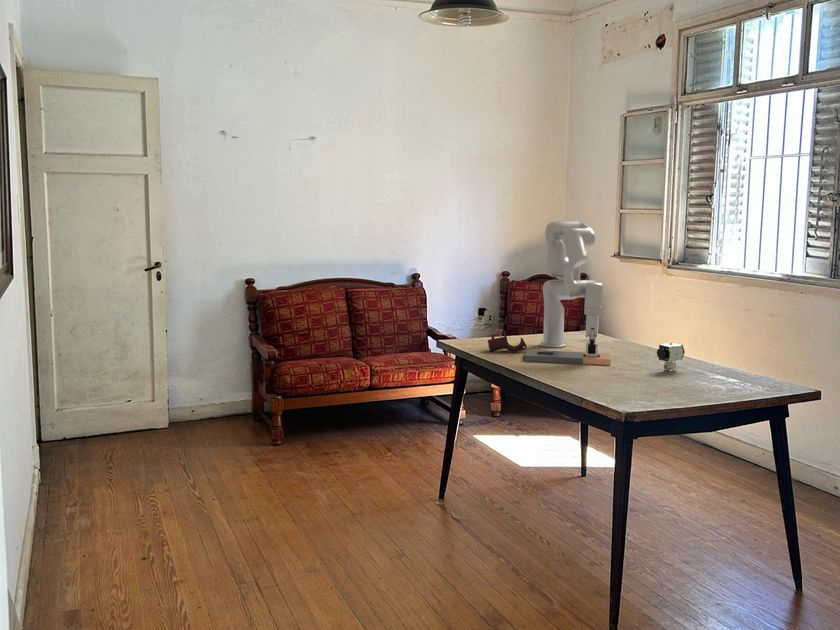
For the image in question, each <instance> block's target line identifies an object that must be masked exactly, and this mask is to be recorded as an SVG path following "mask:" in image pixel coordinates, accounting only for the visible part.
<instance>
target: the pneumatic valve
mask: <svg viewBox="0 0 840 630" xmlns="http://www.w3.org/2000/svg"><path fill="white" fill-rule="evenodd" d="M684 355H685V348H684V345H683V344H681V343H678V342H677V343H676V342H672V341H670V342H669V343H662V344H659V346H658V349H656V356H657V358H658V359H657V360H659V361H663V362H664V363H663V370H664V369H665V370H673V369H677V363H676V361H681V360H683V358H684V357H685V356H684ZM665 370H664V371H665Z"/></svg>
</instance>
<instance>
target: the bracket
mask: <svg viewBox="0 0 840 630" xmlns="http://www.w3.org/2000/svg"><path fill="white" fill-rule="evenodd" d="M490 336H491V339H487V344H488V350H489V352H490V351H491V352H495V351H501V350H507V351H508V352H510V353H517V352H523V351H527V350H528V349H527V348H528V346H527V344H526V342H525V340H524V338H522V337H520V342H519V344H517V345H510V343H509V341H508V337H507V332H506V330H505V329H504V330H503V336H501V337H500V336H499V337H495V335H494V334H491V335H490Z"/></svg>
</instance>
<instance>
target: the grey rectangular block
mask: <svg viewBox="0 0 840 630" xmlns="http://www.w3.org/2000/svg"><path fill="white" fill-rule="evenodd" d="M588 344H589V341H586V342H585V352H586V357H597V356H598V353H599V342H598V341H595V345H596V353H595V354H588Z"/></svg>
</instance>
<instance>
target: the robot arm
mask: <svg viewBox="0 0 840 630" xmlns="http://www.w3.org/2000/svg"><path fill="white" fill-rule="evenodd" d="M544 236H545V241H546V246H547V247H546V248H547V251H546V252H547V253H546V257H547V258H546V273H547V275H548V276H549V277H552V278H563V279H550V280H547V281H545V282H544V284H543V285H542V294H543V307H544V308H543V337H542V338H543V340H542V341H540V342H539V345H540V346H541V347H545V348H565V347H567V342H565V341H564V335H565V333H564V330H565V308H564V306H563V304H562V302H561V301H563V300H566V301H567V300H576V299H577V298H584V310H583V311H584V315H586V320H585V338H586V339H587V338H588V342H589V344H588V354H595V353H596V345H595V342H596V339H597V338H598V334H599V333H598V332H599V324H600V322H599V321H600V316H602V315H603V301H604V300H603V299H604V285H603V283H602V282H597V280H593V279H589V280H588V279H585V280H584V279H583V280H582V279H581V266H583V265H584V264H585V263H587V262H588V259H589V257H588V253H587V248H588V247H592V246H594V245H595V243H596V234H595V231H594V229H592V228H591V227H590V226H589V225H587V224H585V222H582V221H578V220H577V221H576V220H556V221H551V222H549V223H548V224H547V225H546V227H545V230H544ZM586 247H587V248H586ZM566 254H567V256H566Z"/></svg>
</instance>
